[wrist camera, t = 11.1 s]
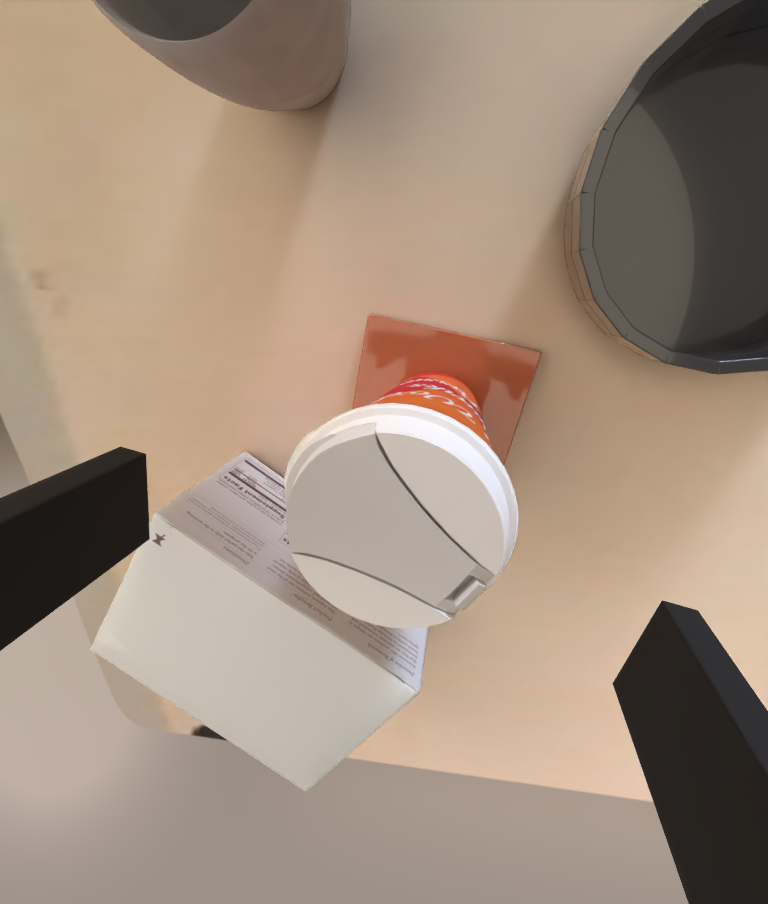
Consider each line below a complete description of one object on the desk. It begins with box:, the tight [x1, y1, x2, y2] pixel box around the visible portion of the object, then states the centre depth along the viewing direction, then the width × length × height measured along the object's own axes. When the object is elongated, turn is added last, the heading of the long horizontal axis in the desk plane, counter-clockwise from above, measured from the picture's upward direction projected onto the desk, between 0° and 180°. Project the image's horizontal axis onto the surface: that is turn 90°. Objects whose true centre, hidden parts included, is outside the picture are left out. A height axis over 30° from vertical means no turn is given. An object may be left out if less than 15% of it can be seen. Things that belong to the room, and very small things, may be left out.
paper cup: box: [284, 372, 519, 629], centre depth 19 cm, size 8×8×14 cm
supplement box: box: [90, 452, 429, 792], centre depth 28 cm, size 17×13×9 cm
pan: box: [564, 0, 768, 374], centre depth 18 cm, size 14×14×4 cm
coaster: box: [353, 314, 541, 466], centre depth 25 cm, size 10×10×1 cm
